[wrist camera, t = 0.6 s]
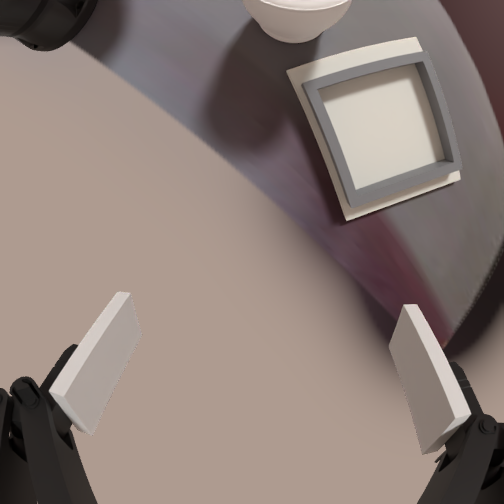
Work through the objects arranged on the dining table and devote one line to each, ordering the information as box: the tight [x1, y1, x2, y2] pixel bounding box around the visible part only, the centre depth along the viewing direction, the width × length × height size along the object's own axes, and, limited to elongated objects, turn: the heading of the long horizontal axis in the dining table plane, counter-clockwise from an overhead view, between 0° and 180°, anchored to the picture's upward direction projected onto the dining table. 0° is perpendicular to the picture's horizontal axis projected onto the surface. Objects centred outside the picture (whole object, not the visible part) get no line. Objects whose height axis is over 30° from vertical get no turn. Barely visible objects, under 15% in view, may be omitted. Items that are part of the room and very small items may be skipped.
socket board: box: [286, 37, 463, 221], centre depth 30 cm, size 20×18×4 cm
